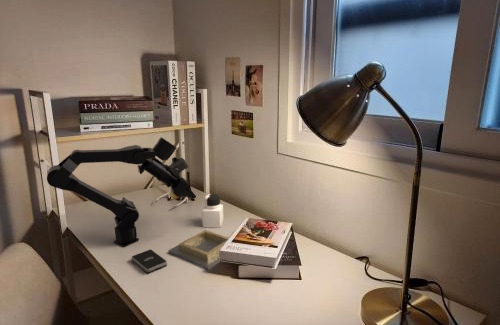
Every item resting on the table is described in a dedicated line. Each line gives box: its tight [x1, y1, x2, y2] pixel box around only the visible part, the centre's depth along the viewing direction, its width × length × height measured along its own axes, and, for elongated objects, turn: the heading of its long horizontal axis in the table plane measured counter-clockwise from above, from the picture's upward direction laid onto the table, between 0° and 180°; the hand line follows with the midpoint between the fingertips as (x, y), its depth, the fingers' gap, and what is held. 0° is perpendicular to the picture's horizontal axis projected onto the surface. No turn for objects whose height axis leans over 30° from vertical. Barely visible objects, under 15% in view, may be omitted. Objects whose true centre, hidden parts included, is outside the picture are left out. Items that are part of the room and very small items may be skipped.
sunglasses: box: [151, 190, 189, 212], centre depth 162 cm, size 14×15×5 cm
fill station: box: [168, 229, 229, 270], centre depth 120 cm, size 18×18×3 cm
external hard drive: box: [131, 248, 168, 275], centre depth 112 cm, size 7×11×2 cm, turn 43°
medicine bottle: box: [201, 193, 224, 229], centre depth 139 cm, size 7×7×12 cm
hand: (191, 193), depth 134 cm, fingers open, 9 cm apart
